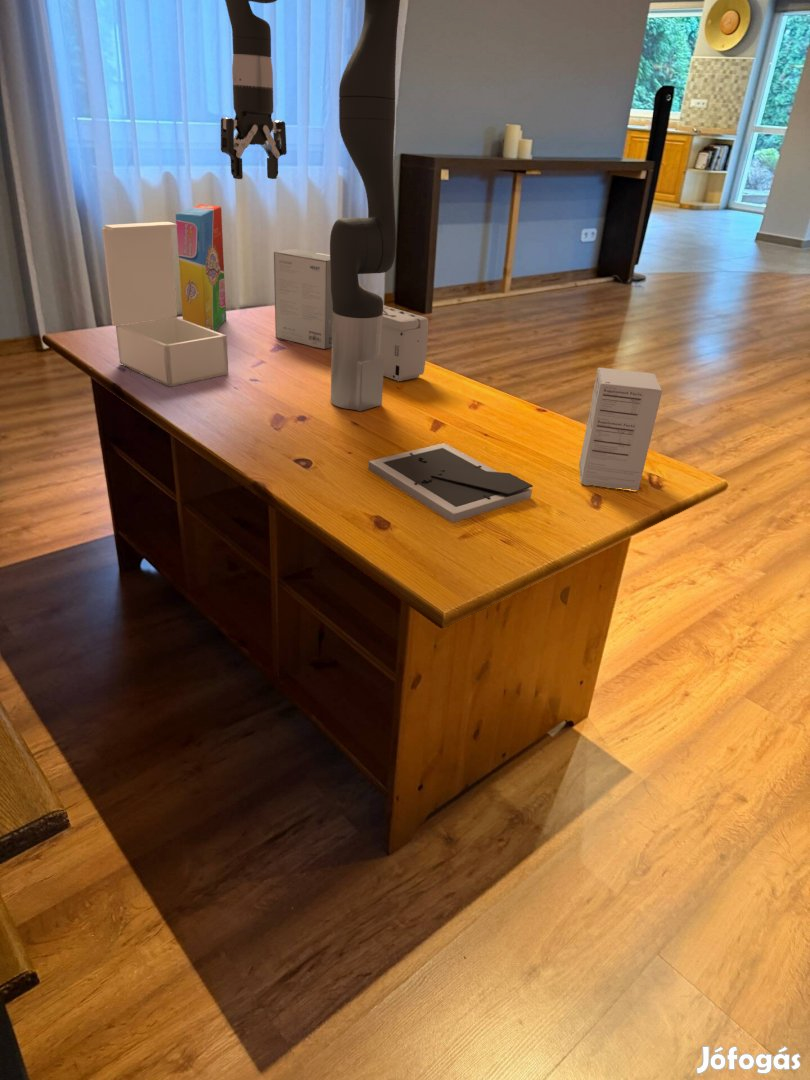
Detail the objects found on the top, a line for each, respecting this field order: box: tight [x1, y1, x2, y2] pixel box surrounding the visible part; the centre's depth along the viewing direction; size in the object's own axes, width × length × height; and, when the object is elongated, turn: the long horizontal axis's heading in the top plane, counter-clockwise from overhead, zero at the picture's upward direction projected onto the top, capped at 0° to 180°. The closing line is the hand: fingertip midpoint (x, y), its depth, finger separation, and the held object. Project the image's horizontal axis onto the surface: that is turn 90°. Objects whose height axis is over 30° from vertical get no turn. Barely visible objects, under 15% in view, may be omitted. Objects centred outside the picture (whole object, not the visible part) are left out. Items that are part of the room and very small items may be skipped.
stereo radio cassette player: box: [359, 282, 429, 383], centre depth 163 cm, size 21×8×20 cm, turn 46°
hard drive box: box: [273, 248, 333, 350], centre depth 179 cm, size 16×8×20 cm, turn 58°
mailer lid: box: [101, 221, 178, 327], centre depth 155 cm, size 19×15×8 cm
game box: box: [175, 204, 227, 331], centre depth 180 cm, size 21×6×27 cm, turn 179°
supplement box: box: [578, 367, 663, 491], centre depth 121 cm, size 10×9×17 cm
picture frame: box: [367, 442, 534, 524], centre depth 118 cm, size 16×3×21 cm
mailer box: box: [115, 316, 229, 387], centre depth 156 cm, size 18×14×8 cm
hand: (255, 178), depth 152 cm, fingers open, 8 cm apart
